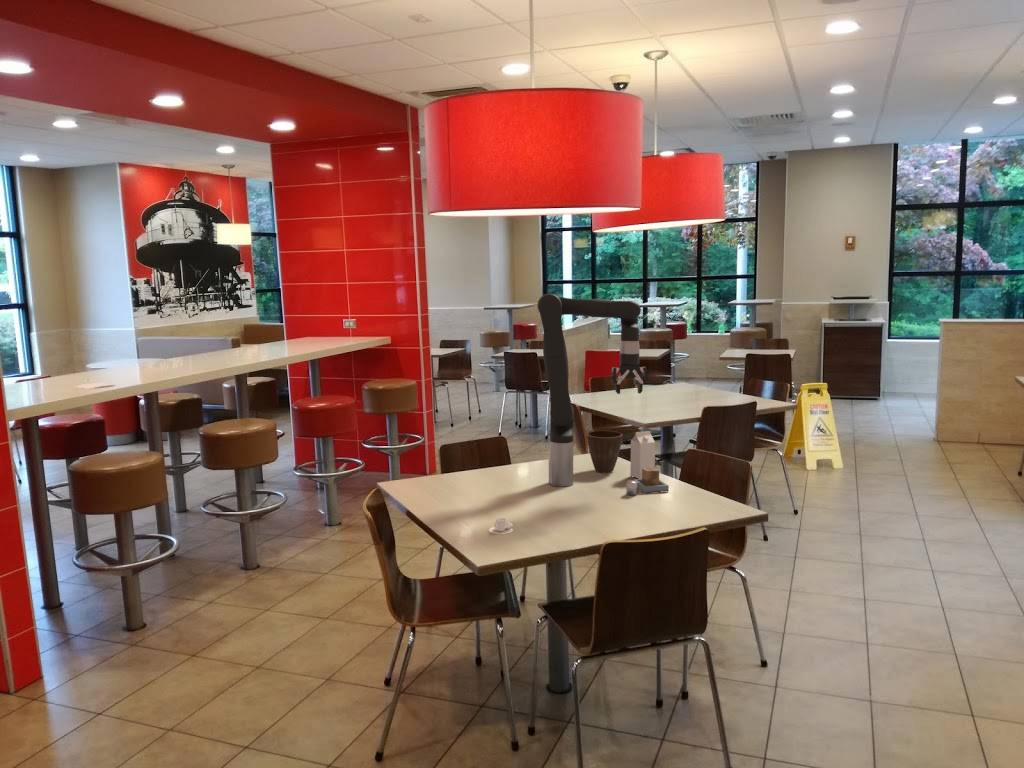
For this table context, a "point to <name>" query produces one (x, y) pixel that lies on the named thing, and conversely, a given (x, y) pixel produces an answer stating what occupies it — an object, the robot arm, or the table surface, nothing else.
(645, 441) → the milk carton
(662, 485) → the slate tray
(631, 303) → the robot arm
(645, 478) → the walnut block
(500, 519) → the teacup and saucer
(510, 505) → the table surface
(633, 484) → the metal cylinder
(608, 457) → the plant pot
